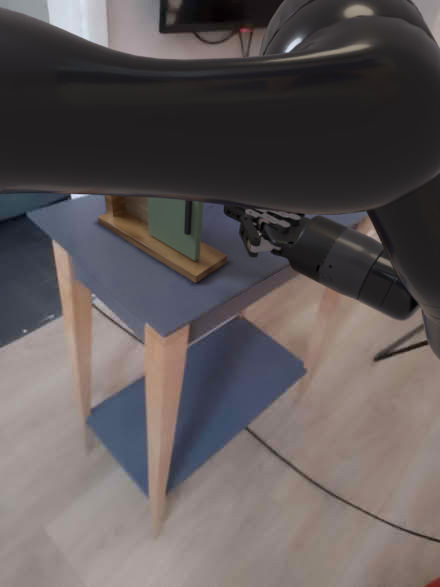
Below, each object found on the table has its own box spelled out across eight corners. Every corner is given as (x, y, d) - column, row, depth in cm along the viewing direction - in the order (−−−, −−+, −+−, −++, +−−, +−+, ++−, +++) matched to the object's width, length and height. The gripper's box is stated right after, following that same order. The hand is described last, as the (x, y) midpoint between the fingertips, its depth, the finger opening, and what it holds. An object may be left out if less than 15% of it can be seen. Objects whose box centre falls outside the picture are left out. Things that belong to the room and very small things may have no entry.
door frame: (195, 283, 63) (203, 170, 50) (98, 223, 74) (84, 117, 61) (226, 262, 68) (240, 154, 55) (131, 209, 79) (124, 108, 66)
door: (192, 262, 64) (196, 177, 54) (145, 235, 69) (142, 152, 59) (199, 258, 65) (205, 173, 55) (153, 231, 70) (151, 149, 60)
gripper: (370, 211, 49) (257, 166, 57) (320, 254, 41) (196, 195, 48) (351, 259, 54) (250, 212, 62) (303, 306, 46) (194, 245, 53)
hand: (227, 205), depth 55 cm, fingers closed
